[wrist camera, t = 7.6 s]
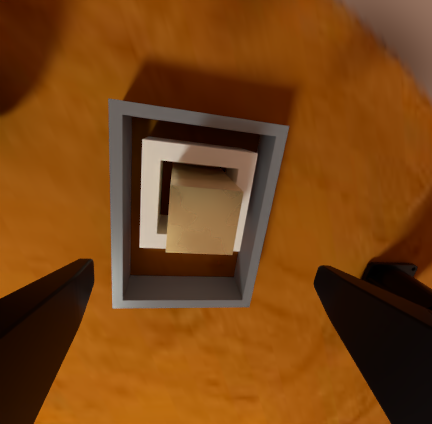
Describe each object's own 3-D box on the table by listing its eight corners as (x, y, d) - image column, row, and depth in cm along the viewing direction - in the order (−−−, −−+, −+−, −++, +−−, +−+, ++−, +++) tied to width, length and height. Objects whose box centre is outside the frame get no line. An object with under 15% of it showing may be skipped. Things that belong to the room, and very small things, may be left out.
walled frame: (270, 125, 20) (292, 126, 16) (239, 283, 25) (250, 311, 21) (121, 103, 17) (106, 97, 14) (121, 282, 23) (110, 312, 19)
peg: (219, 167, 20) (243, 192, 13) (213, 210, 22) (232, 255, 14) (172, 162, 20) (170, 184, 12) (169, 206, 21) (165, 252, 13)
